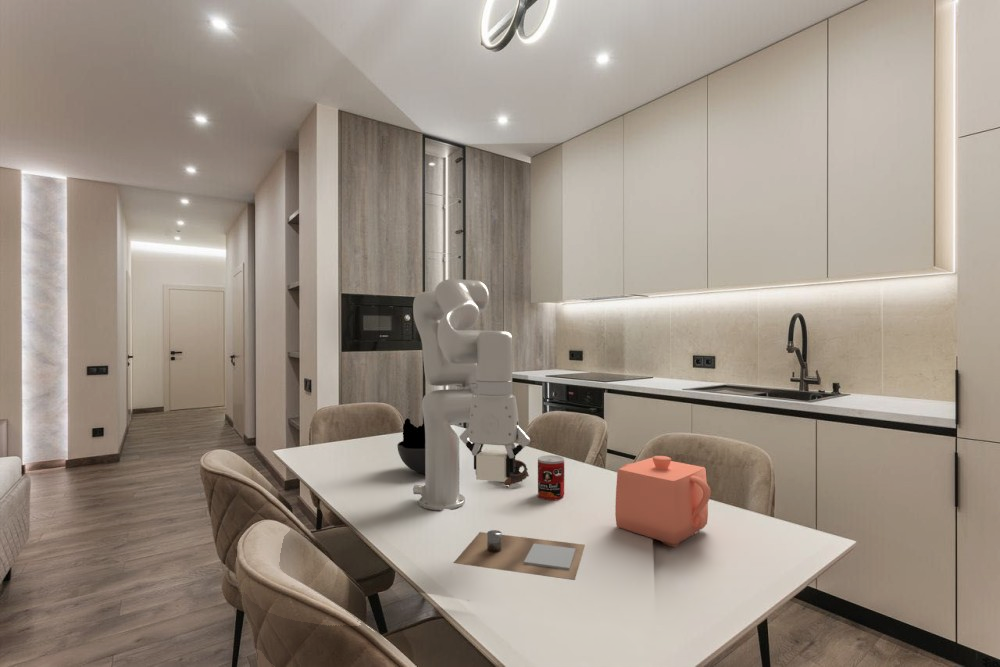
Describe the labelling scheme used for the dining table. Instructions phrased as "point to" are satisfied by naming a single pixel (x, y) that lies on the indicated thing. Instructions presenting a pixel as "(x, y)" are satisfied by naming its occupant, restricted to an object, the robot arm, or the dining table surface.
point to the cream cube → (491, 465)
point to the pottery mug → (517, 473)
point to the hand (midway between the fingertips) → (494, 473)
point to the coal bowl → (413, 446)
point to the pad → (550, 556)
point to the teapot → (662, 499)
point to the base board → (517, 556)
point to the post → (494, 541)
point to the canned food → (551, 477)
